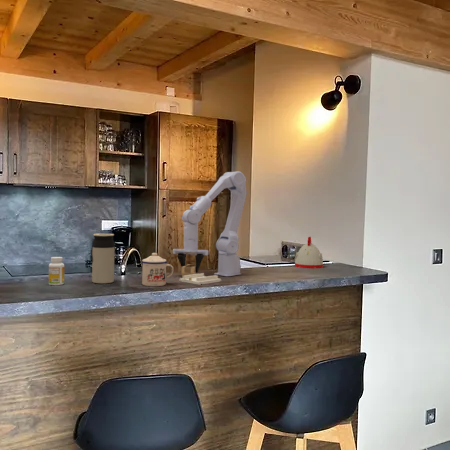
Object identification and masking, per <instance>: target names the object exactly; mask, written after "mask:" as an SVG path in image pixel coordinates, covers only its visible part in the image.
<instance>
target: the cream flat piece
mask: <svg viewBox="0 0 450 450" xmlns="http://www.w3.org/2000/svg"><path fill="white" fill-rule="evenodd" d="M178 281H179V282H182V283H188V284H193V285H199V286H200V285H201V284H202V285H209V284H213V283H219V282H220V283H221V282H222V278H219V275H215V274H213V275H208V276H206V275H205V273H204V272H201V273H200V272H199V274H192V275H185V276H183V277H182V278H179V279H178Z"/></svg>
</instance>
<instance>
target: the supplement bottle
mask: <svg viewBox="0 0 450 450" xmlns="http://www.w3.org/2000/svg"><path fill="white" fill-rule="evenodd" d="M63 259H64V258H63V257H62V256H51V257H50V263H49V264H48V285H49V286H62V285H64V284H65V263H63Z"/></svg>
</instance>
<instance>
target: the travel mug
mask: <svg viewBox="0 0 450 450" xmlns="http://www.w3.org/2000/svg"><path fill="white" fill-rule="evenodd" d="M114 236H115V234H114V233H93V238H94V239H93V241H92V249H91V250H92V263H91V264H92V265H91V266H92V267H91V272H92V273H91V282H92V283H94V284H105V285H106V284H111V283H113V282H115V247H116V246H115V241H114Z"/></svg>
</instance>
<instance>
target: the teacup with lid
mask: <svg viewBox="0 0 450 450" xmlns="http://www.w3.org/2000/svg"><path fill="white" fill-rule="evenodd" d="M141 263H142V273H141V275H142V277H141V281H142V282H141V284H142V285H143V286H145V287H163V286H165V285H166V284H167V278H170V277H171V276H172V275H173V273H174V266H173V265H172V264H169V263H168V262H167V259H165V258H162V257H161V256H160V255H158V253H157V252H152V253H151V255H150V256H148V257H146V258H143V259H142V260H141ZM167 267H169V268H170V272H169V274H167Z"/></svg>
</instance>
